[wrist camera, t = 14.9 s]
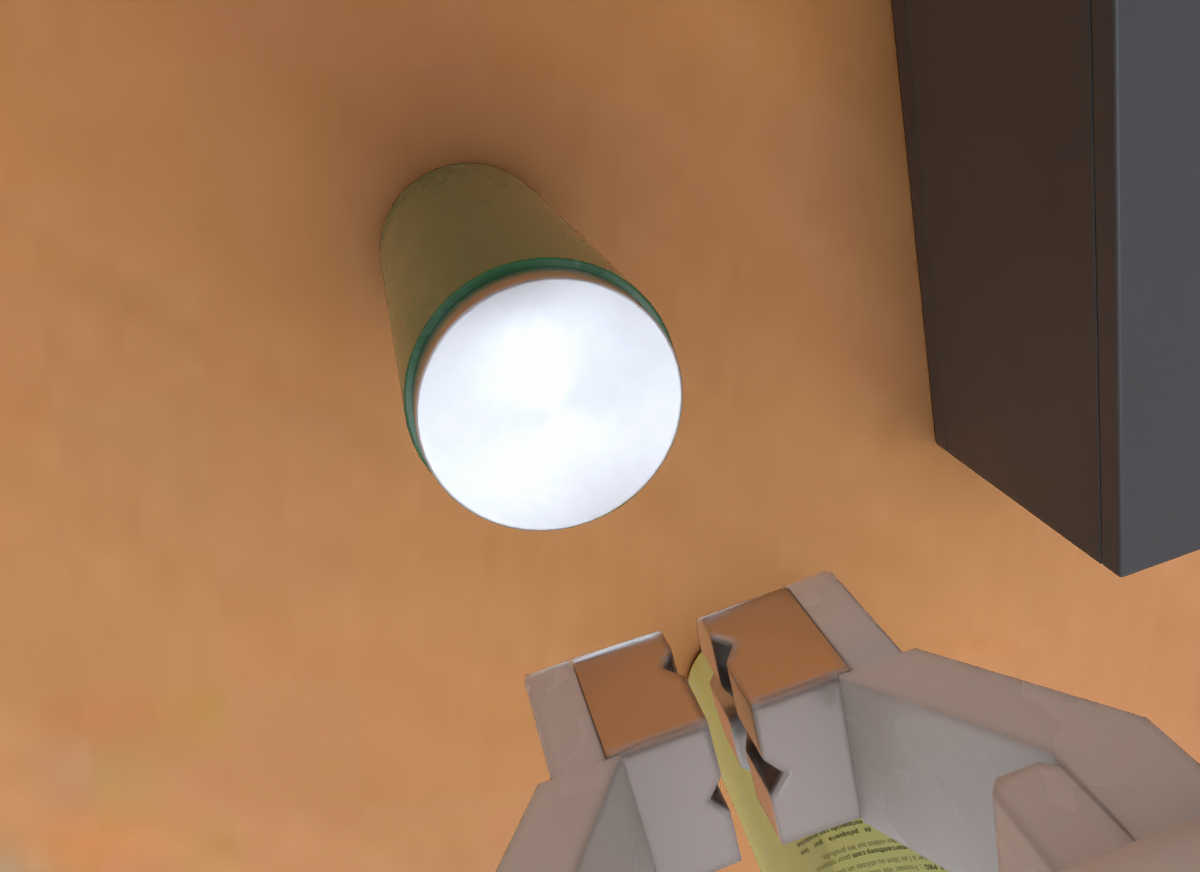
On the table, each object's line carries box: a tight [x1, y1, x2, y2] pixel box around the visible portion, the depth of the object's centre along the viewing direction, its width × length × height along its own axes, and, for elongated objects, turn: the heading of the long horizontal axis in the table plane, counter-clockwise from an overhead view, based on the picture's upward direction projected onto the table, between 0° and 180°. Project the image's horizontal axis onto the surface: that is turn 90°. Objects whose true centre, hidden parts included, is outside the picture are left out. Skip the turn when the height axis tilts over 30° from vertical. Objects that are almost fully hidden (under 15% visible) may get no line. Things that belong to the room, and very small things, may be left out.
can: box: [380, 163, 683, 531], centre depth 24 cm, size 5×5×13 cm
